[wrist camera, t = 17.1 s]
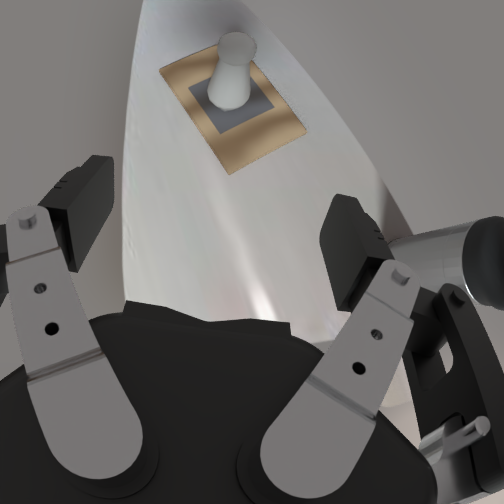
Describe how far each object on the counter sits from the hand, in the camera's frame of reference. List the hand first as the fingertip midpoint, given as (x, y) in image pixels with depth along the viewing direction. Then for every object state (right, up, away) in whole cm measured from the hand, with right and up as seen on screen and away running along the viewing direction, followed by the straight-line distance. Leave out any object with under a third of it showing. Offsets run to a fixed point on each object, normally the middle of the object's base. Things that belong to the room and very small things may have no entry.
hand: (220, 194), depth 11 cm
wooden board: (-2, +20, +32) cm, 37 cm away
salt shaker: (-2, +19, +31) cm, 37 cm away
